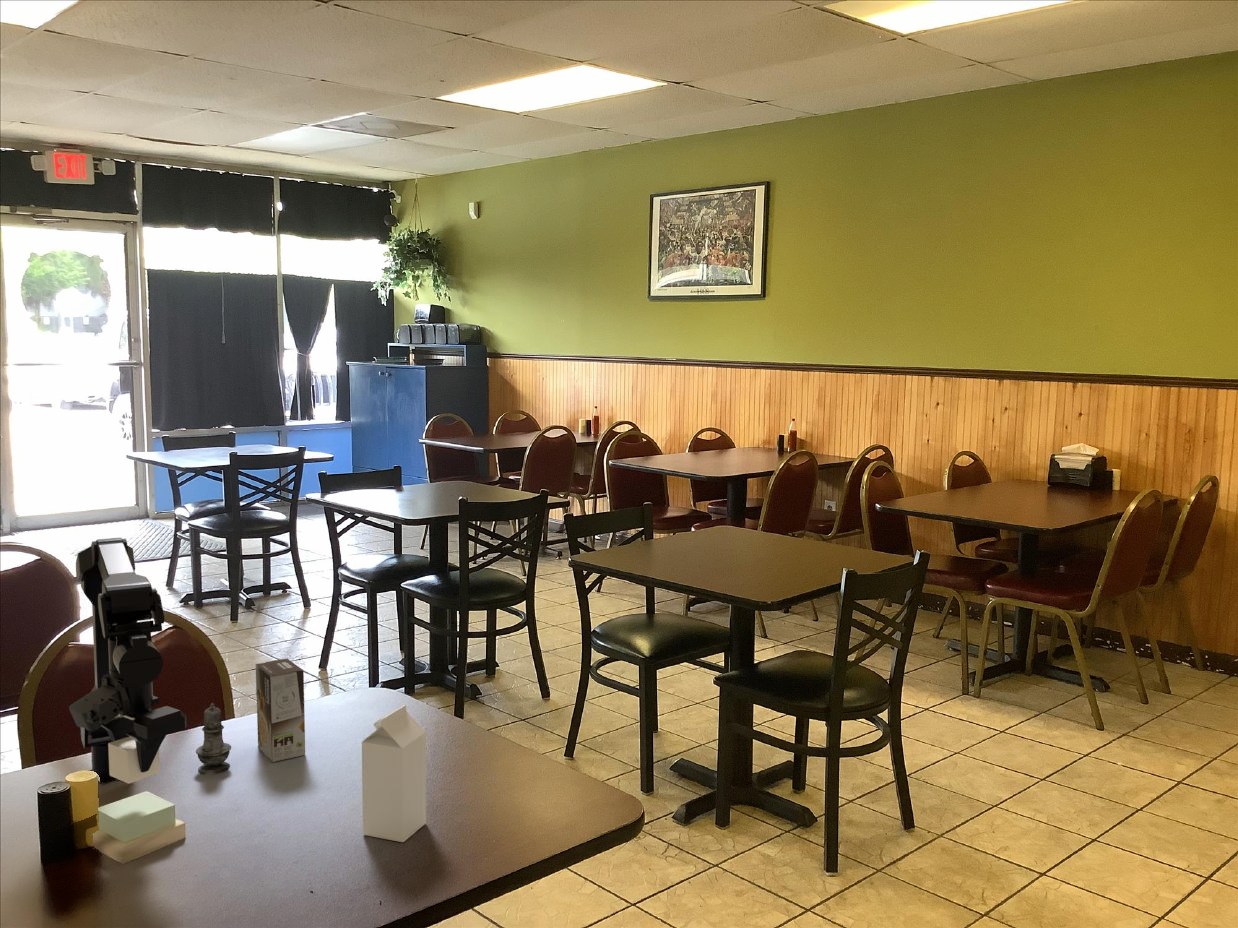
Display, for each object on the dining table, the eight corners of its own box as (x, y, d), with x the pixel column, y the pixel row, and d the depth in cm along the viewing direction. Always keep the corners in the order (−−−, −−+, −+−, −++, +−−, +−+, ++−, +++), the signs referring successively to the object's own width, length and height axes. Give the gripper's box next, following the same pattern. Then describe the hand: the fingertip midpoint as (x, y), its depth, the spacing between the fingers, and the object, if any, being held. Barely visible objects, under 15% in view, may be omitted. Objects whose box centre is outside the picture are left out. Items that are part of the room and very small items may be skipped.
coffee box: (307, 755, 191) (305, 669, 189) (272, 762, 187) (270, 676, 185) (289, 739, 198) (288, 657, 197) (255, 746, 195) (253, 663, 193)
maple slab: (85, 848, 156) (85, 829, 156) (148, 823, 165) (147, 805, 164) (123, 867, 151) (122, 848, 150) (185, 841, 159) (185, 822, 159)
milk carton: (426, 823, 165) (425, 707, 162) (403, 843, 158) (402, 722, 156) (387, 816, 167) (386, 701, 165) (362, 835, 160) (360, 716, 158)
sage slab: (96, 827, 157) (95, 808, 156) (147, 809, 163) (146, 790, 163) (124, 842, 152) (123, 823, 152) (175, 823, 158) (175, 804, 158)
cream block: (109, 775, 156) (108, 743, 156) (140, 764, 160) (139, 733, 160) (128, 783, 153) (127, 750, 153) (160, 772, 157) (158, 740, 157)
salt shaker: (219, 776, 181) (217, 709, 180) (189, 773, 182) (187, 706, 181) (238, 763, 187) (236, 698, 186) (208, 760, 188) (206, 695, 187)
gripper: (42, 667, 153) (47, 769, 155) (113, 693, 143) (118, 802, 145) (115, 650, 163) (119, 746, 164) (186, 672, 152) (190, 775, 154)
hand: (134, 767), depth 157 cm, fingers closed on cream block, 5 cm apart
